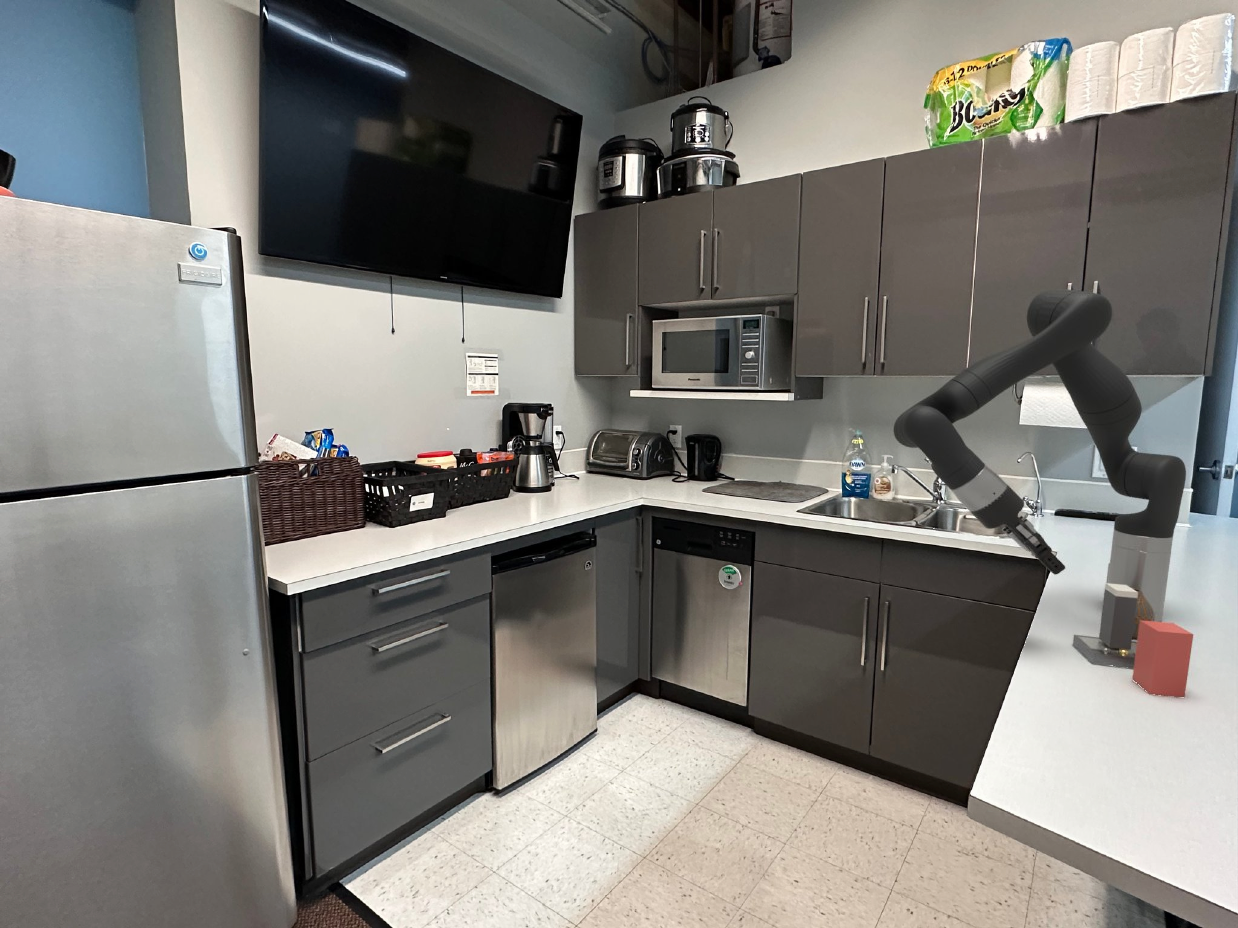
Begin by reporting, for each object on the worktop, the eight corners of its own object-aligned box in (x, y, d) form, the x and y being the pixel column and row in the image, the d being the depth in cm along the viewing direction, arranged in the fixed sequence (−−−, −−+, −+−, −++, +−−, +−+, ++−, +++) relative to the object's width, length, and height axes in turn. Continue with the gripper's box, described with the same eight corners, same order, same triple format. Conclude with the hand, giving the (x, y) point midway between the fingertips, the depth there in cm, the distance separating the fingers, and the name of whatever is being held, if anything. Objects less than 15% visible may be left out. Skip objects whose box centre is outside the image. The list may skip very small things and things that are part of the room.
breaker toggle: (1109, 647, 105) (1116, 590, 103) (1098, 638, 109) (1105, 583, 107) (1130, 649, 104) (1137, 592, 103) (1119, 640, 108) (1126, 584, 106)
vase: (1130, 627, 121) (1135, 583, 120) (1162, 641, 114) (1168, 595, 113) (1095, 627, 121) (1101, 583, 119) (1125, 641, 114) (1131, 595, 113)
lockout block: (1132, 680, 98) (1139, 620, 97) (1164, 684, 97) (1173, 622, 96) (1149, 694, 94) (1158, 631, 93) (1184, 698, 93) (1193, 634, 92)
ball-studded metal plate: (1092, 663, 104) (1095, 635, 103) (1072, 645, 112) (1075, 618, 111) (1186, 675, 100) (1190, 645, 100) (1159, 655, 108) (1163, 627, 107)
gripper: (1016, 487, 102) (1096, 567, 100) (993, 476, 115) (1063, 547, 113) (977, 516, 104) (1054, 595, 102) (959, 503, 117) (1027, 573, 115)
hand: (1059, 570), depth 107 cm, fingers closed
